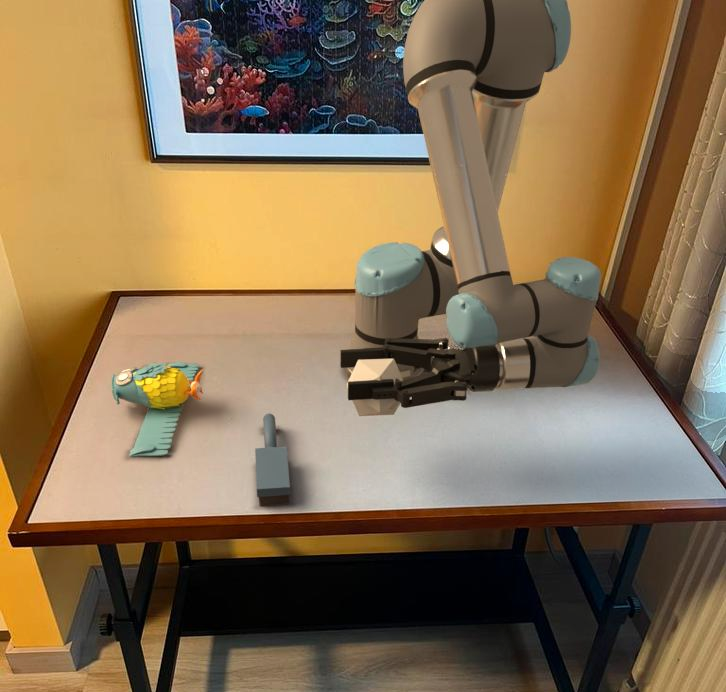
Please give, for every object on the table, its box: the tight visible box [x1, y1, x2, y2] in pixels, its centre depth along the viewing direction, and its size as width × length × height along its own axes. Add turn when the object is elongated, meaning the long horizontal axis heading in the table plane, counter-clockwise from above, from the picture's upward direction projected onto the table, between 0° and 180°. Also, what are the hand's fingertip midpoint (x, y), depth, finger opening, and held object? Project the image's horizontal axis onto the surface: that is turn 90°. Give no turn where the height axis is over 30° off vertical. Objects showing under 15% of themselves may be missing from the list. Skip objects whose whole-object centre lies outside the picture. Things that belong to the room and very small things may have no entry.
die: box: [346, 359, 403, 417], centre depth 114 cm, size 8×9×10 cm
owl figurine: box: [110, 361, 204, 458], centre depth 133 cm, size 28×9×15 cm
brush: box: [254, 412, 291, 507], centre depth 124 cm, size 20×5×4 cm, turn 7°
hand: (344, 374), depth 113 cm, fingers closed on die, 8 cm apart
